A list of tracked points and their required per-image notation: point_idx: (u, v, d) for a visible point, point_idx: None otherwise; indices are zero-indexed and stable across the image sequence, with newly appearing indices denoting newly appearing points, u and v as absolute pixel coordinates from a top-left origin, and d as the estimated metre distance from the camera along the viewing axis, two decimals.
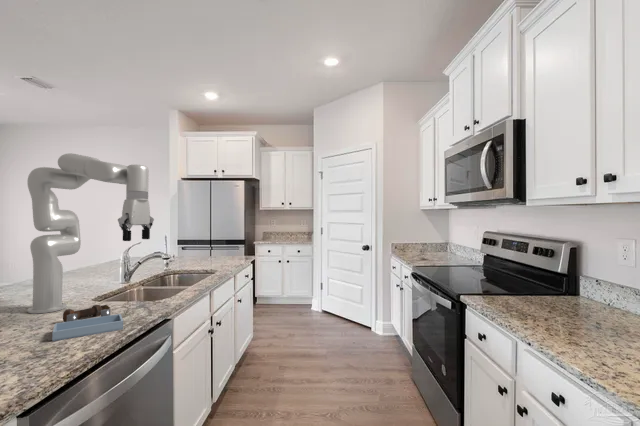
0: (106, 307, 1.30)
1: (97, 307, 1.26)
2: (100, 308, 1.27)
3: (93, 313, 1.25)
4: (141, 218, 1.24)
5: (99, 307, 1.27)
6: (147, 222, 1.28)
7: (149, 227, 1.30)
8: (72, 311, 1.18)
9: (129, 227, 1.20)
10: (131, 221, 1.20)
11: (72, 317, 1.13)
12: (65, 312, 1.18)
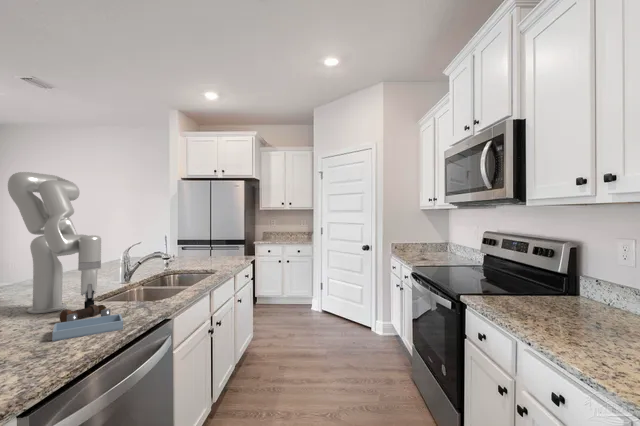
0: (102, 307, 1.30)
1: (94, 307, 1.26)
2: (97, 308, 1.27)
3: (90, 313, 1.25)
4: None
5: (96, 307, 1.27)
6: None
7: None
8: (69, 311, 1.18)
9: (93, 298, 1.30)
10: (95, 291, 1.27)
11: (72, 317, 1.13)
12: (62, 312, 1.18)
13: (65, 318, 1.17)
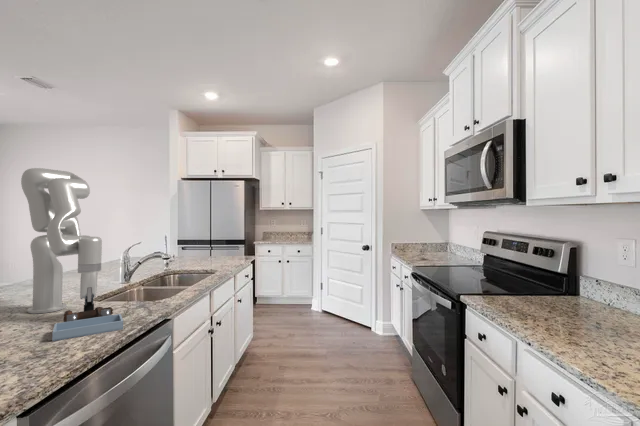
0: None
1: (98, 309, 1.23)
2: None
3: (94, 315, 1.22)
4: None
5: (100, 309, 1.24)
6: None
7: None
8: (70, 312, 1.16)
9: None
10: (95, 294, 1.23)
11: (72, 317, 1.13)
12: (65, 313, 1.17)
13: (66, 319, 1.15)
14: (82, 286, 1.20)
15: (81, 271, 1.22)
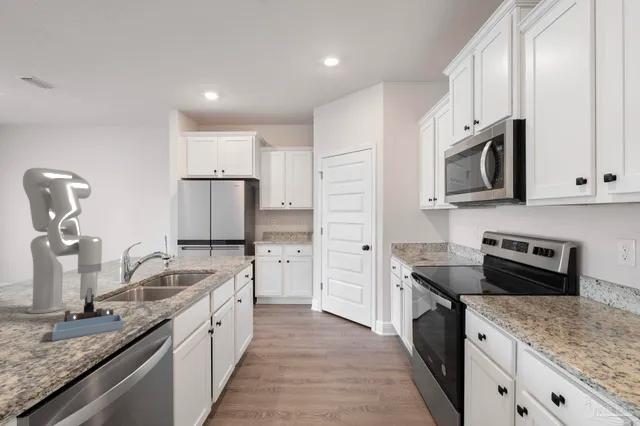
0: None
1: (97, 311, 1.21)
2: (100, 313, 1.21)
3: (93, 317, 1.20)
4: None
5: (100, 311, 1.21)
6: None
7: None
8: (68, 313, 1.15)
9: None
10: (95, 295, 1.22)
11: (72, 317, 1.13)
12: None
13: (64, 320, 1.15)
14: (82, 287, 1.19)
15: (81, 271, 1.21)
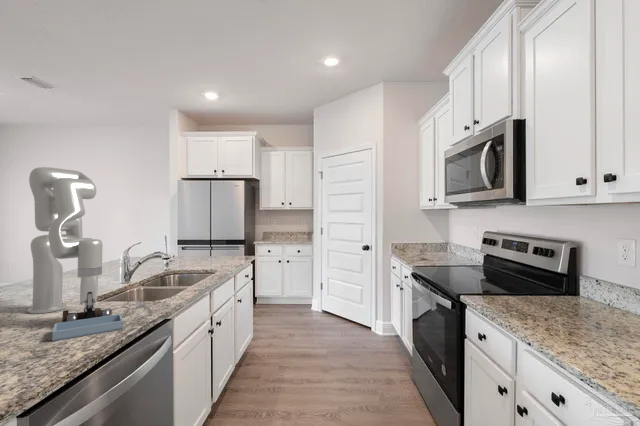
0: None
1: (96, 311, 1.21)
2: (99, 312, 1.21)
3: None
4: None
5: (98, 311, 1.21)
6: None
7: None
8: (66, 313, 1.15)
9: (93, 307, 1.19)
10: (95, 299, 1.18)
11: (72, 317, 1.13)
12: None
13: (62, 320, 1.15)
14: (82, 291, 1.16)
15: (81, 275, 1.17)
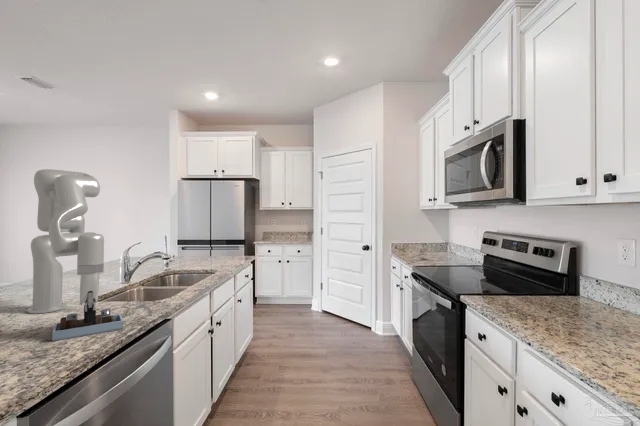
0: (109, 318, 1.13)
1: (96, 318, 1.11)
2: (99, 319, 1.11)
3: (91, 324, 1.10)
4: None
5: (99, 318, 1.11)
6: None
7: None
8: (64, 320, 1.06)
9: (94, 306, 1.08)
10: (96, 299, 1.08)
11: (72, 317, 1.13)
12: None
13: None
14: (82, 290, 1.06)
15: (81, 273, 1.07)
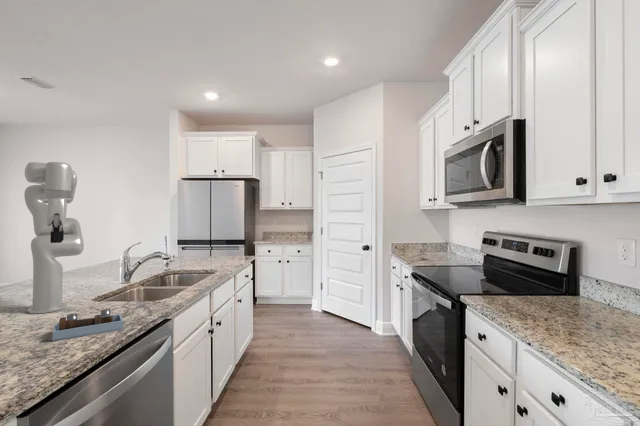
0: (108, 319, 1.13)
1: (95, 318, 1.11)
2: (99, 320, 1.11)
3: (90, 325, 1.10)
4: (65, 218, 1.19)
5: (98, 318, 1.11)
6: None
7: (62, 228, 1.23)
8: (63, 320, 1.05)
9: (61, 228, 1.15)
10: (63, 222, 1.16)
11: (72, 317, 1.13)
12: None
13: None
14: (48, 211, 1.13)
15: (48, 196, 1.15)
